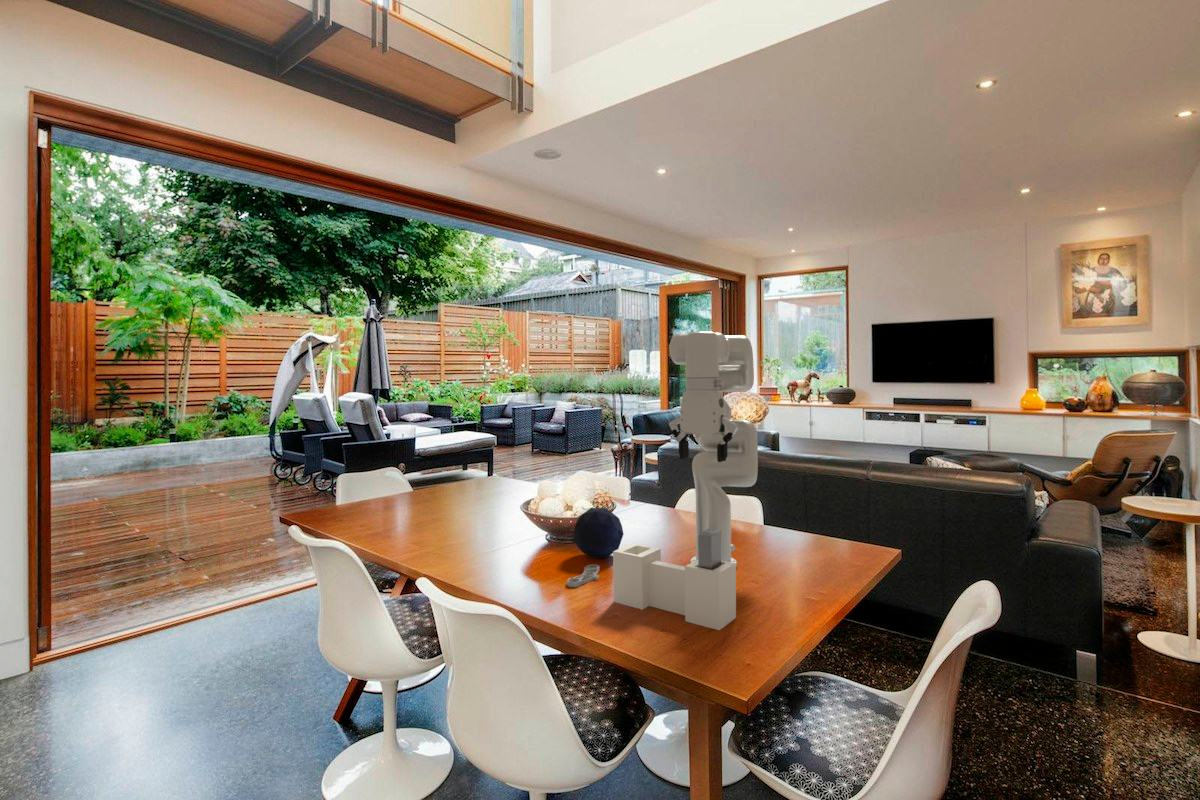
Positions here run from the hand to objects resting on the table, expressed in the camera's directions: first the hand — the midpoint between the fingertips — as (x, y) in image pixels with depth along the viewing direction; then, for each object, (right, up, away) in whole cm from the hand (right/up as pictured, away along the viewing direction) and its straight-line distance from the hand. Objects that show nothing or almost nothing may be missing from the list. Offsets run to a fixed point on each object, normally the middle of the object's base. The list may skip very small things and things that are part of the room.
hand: (702, 459), depth 140 cm
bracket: (-28, -34, +18) cm, 47 cm away
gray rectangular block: (0, -26, -10) cm, 27 cm away
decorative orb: (-24, -32, +37) cm, 55 cm away
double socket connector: (-7, -34, -4) cm, 34 cm away
